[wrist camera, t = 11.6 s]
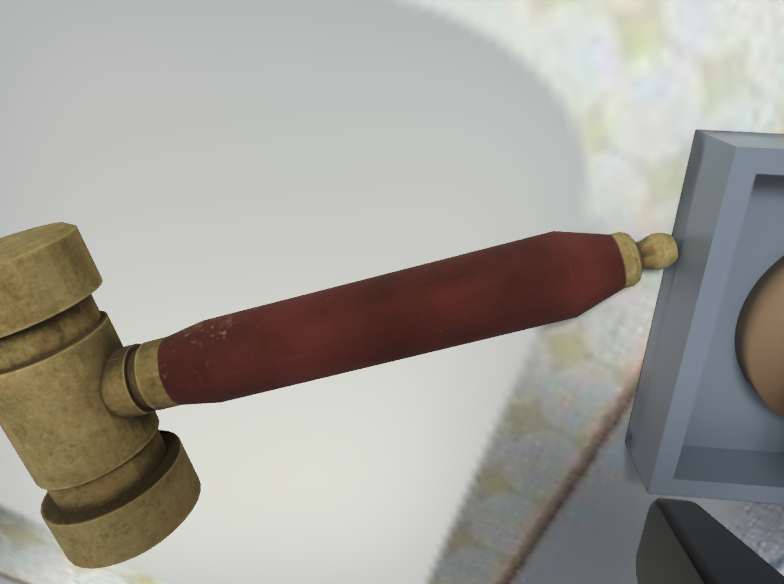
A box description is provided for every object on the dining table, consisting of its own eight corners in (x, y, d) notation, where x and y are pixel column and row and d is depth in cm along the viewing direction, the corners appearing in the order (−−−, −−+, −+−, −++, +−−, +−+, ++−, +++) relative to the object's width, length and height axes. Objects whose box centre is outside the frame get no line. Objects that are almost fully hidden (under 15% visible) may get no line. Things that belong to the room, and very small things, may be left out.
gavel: (698, 67, 14) (729, 439, 17) (626, 59, 18) (663, 359, 21) (-145, 301, 16) (41, 585, 19) (-30, 244, 20) (105, 487, 24)
